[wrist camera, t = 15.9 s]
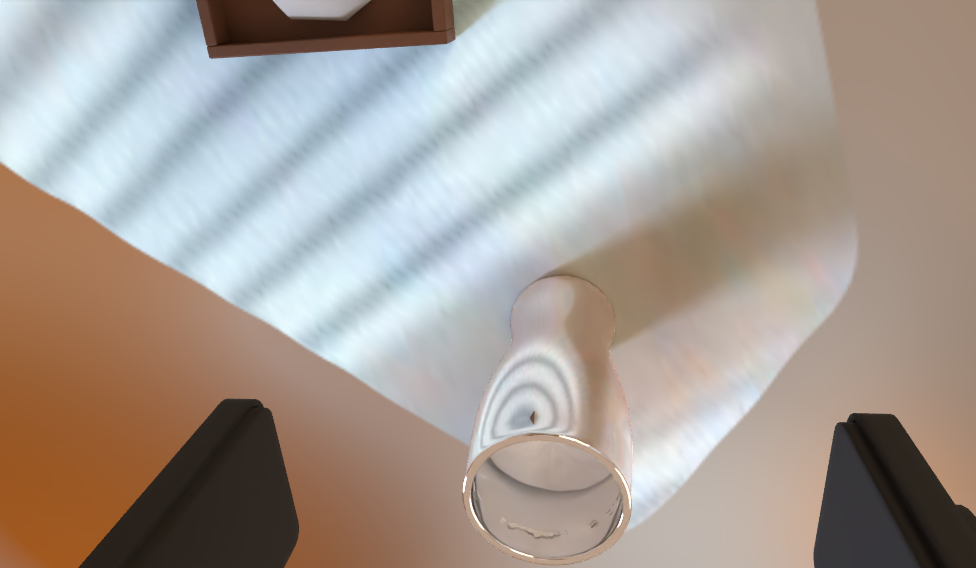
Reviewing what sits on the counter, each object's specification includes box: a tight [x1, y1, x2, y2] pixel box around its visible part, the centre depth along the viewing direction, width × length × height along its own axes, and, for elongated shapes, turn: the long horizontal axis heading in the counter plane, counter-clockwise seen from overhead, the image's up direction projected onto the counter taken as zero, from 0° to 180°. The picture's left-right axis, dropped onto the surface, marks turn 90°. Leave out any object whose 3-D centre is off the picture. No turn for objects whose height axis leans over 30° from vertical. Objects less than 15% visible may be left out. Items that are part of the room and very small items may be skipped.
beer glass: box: [463, 276, 633, 565], centre depth 33 cm, size 7×7×15 cm
